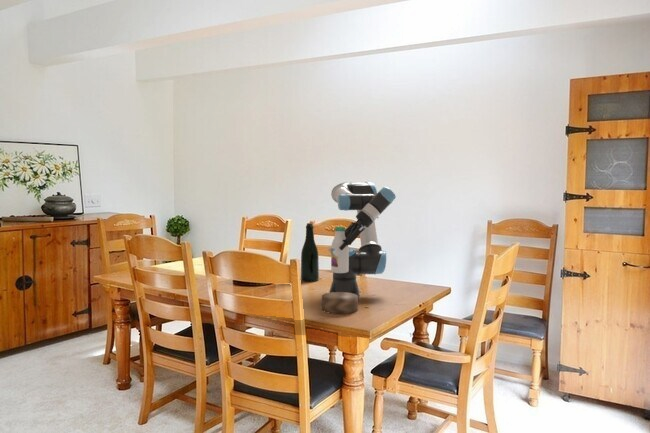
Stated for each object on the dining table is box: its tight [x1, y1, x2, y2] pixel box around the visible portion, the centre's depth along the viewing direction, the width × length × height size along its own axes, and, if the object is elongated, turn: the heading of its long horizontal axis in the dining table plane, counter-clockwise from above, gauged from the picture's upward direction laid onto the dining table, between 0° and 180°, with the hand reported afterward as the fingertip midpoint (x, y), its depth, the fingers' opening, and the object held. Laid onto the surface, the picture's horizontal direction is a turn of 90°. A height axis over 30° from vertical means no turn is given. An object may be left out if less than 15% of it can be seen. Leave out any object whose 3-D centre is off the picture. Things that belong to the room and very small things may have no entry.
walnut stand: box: [321, 292, 359, 315], centre depth 222 cm, size 16×16×6 cm
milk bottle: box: [330, 226, 350, 274], centre depth 220 cm, size 8×8×20 cm
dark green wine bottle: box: [300, 222, 320, 282], centre depth 285 cm, size 10×10×33 cm
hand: (332, 253), depth 219 cm, fingers closed on milk bottle, 7 cm apart
